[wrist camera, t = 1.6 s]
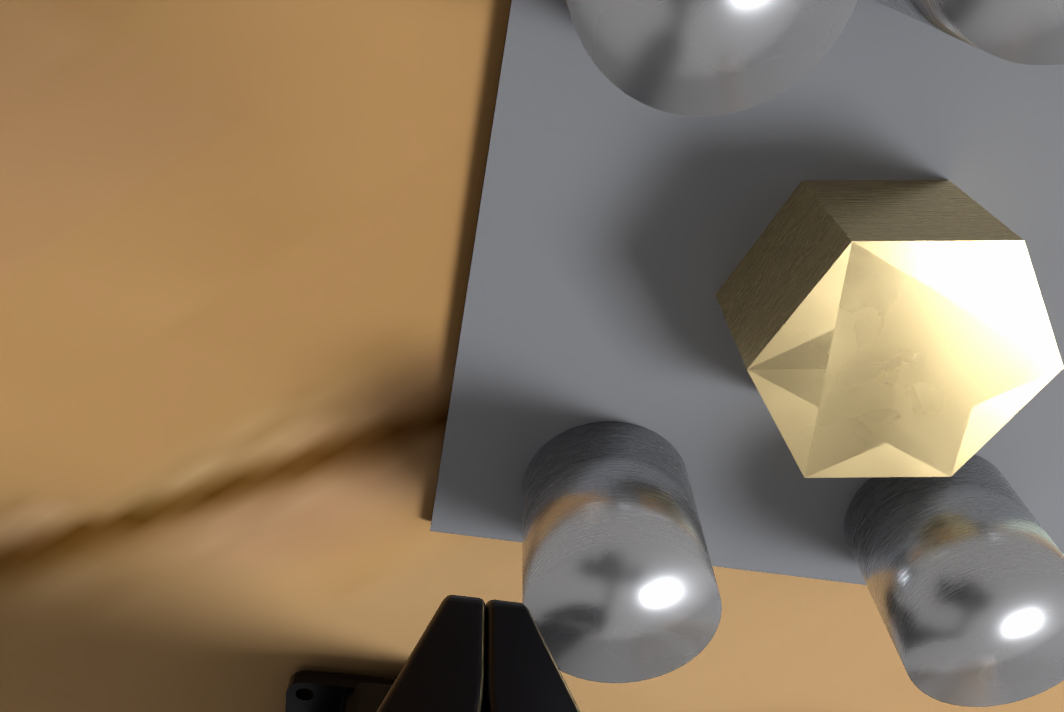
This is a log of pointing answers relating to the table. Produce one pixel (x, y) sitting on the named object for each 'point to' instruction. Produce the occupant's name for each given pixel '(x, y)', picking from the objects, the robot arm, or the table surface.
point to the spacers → (879, 505)
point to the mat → (719, 268)
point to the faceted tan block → (889, 326)
